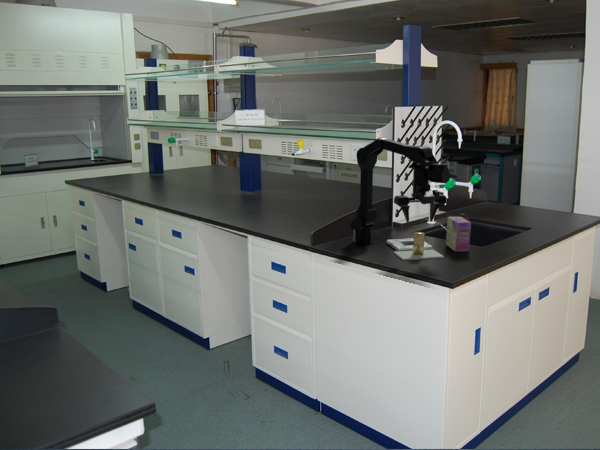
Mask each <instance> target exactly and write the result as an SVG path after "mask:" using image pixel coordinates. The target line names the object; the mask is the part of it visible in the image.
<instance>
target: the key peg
mask: <svg viewBox="0 0 600 450" xmlns="http://www.w3.org/2000/svg"><path fill="white" fill-rule="evenodd" d="M412 238H413V244H412V245H413V254H414V255H423V254H424V241H425V232H421V231H415V232H413V237H412Z"/></svg>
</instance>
